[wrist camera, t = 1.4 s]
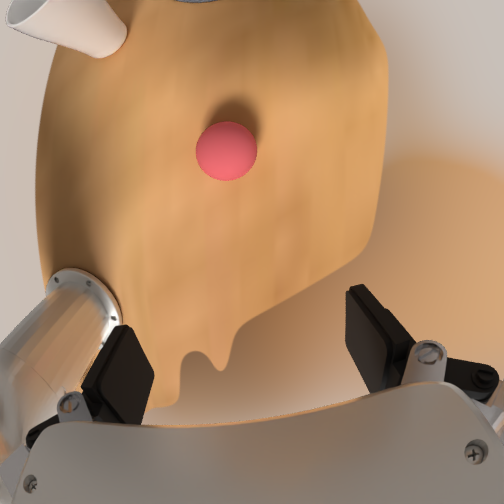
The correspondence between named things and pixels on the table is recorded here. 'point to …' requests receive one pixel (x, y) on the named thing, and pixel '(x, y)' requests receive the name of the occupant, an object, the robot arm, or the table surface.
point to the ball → (226, 151)
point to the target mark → (195, 1)
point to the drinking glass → (70, 24)
